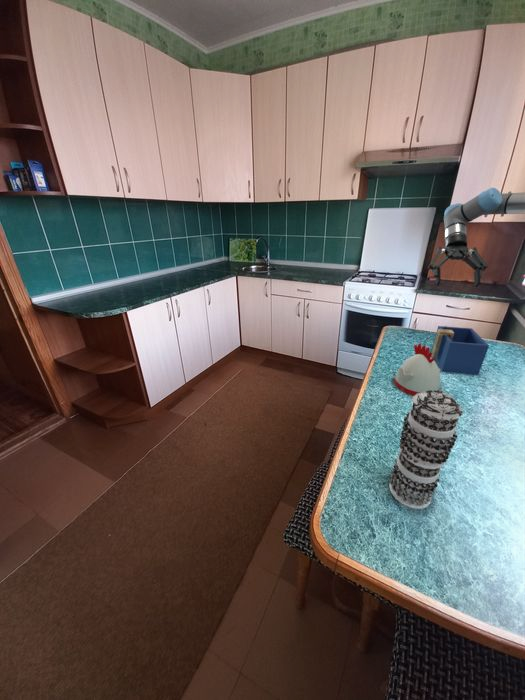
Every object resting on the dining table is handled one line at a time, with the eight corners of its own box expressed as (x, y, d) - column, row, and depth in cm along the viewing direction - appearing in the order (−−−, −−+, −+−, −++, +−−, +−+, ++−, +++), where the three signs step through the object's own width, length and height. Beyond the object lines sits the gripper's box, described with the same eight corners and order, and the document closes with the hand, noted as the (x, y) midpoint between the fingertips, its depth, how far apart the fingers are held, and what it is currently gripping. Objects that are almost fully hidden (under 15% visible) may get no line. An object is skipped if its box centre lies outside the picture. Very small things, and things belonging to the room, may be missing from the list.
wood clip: (444, 355, 115) (451, 329, 110) (446, 358, 112) (454, 332, 107) (430, 354, 116) (437, 328, 111) (432, 357, 113) (440, 331, 108)
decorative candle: (380, 493, 63) (403, 400, 52) (395, 467, 69) (419, 379, 58) (425, 519, 58) (462, 422, 47) (438, 489, 64) (473, 396, 53)
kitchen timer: (417, 372, 108) (426, 335, 101) (448, 392, 96) (461, 352, 89) (385, 378, 104) (393, 341, 97) (414, 400, 92) (425, 359, 86)
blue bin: (430, 351, 122) (438, 325, 117) (463, 354, 119) (471, 328, 114) (441, 371, 108) (450, 342, 103) (478, 374, 105) (489, 345, 100)
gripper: (485, 245, 119) (489, 290, 113) (419, 244, 125) (419, 288, 119) (495, 232, 112) (500, 280, 106) (425, 232, 118) (425, 277, 112)
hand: (457, 284), depth 112 cm, fingers open, 13 cm apart
